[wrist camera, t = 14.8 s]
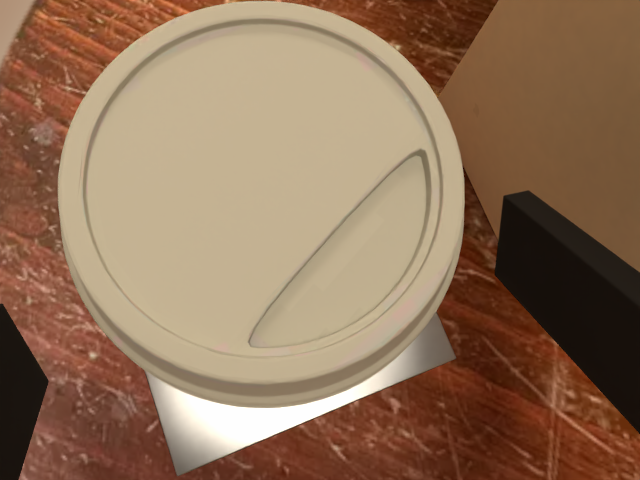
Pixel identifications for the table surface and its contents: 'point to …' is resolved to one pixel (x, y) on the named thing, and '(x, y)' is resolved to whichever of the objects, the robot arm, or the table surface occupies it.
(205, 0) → the table surface
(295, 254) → the coffee cup
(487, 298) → the table surface
